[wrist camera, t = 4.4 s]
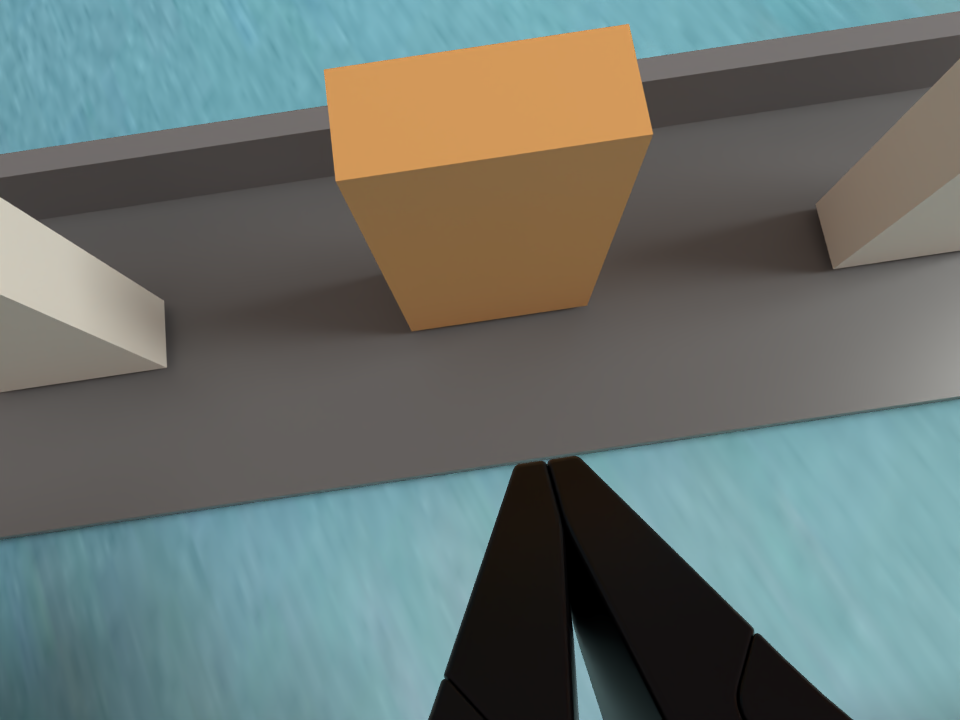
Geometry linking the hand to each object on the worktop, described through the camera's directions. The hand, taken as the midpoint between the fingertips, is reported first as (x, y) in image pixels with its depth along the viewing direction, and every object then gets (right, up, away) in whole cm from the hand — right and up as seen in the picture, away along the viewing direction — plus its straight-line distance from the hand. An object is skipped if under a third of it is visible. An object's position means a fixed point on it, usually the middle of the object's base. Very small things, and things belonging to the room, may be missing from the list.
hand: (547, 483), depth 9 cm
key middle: (0, +4, +11) cm, 11 cm away
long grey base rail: (0, +4, +12) cm, 12 cm away
